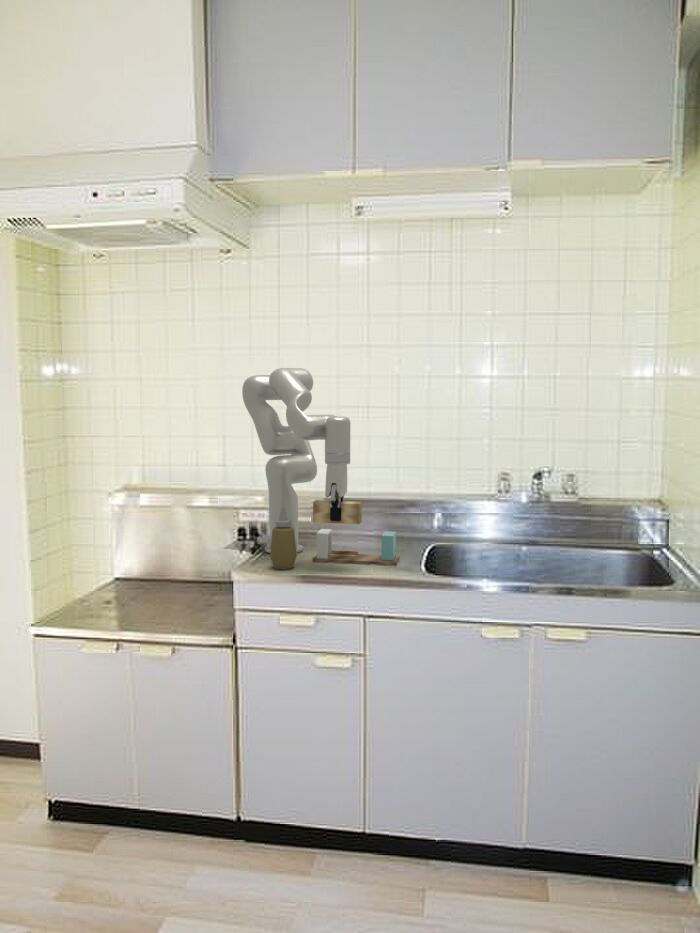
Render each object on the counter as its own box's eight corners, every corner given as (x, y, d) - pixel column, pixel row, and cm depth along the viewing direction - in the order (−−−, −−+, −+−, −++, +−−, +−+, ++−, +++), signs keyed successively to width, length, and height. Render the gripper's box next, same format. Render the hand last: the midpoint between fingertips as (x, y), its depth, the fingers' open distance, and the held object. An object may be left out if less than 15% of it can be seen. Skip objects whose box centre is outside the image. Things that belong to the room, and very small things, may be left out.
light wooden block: (313, 522, 221) (313, 502, 220) (316, 519, 225) (316, 500, 224) (359, 524, 218) (359, 504, 217) (361, 521, 222) (361, 501, 221)
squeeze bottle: (292, 571, 219) (292, 511, 217) (266, 570, 220) (265, 510, 218) (300, 565, 227) (299, 506, 225) (274, 563, 228) (274, 506, 226)
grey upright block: (316, 558, 231) (316, 533, 230) (321, 553, 238) (321, 528, 237) (327, 558, 231) (327, 533, 230) (332, 553, 237) (332, 529, 237)
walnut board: (312, 561, 231) (312, 554, 230) (319, 555, 239) (319, 548, 239) (395, 565, 226) (395, 558, 226) (399, 558, 235) (399, 551, 234)
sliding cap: (381, 560, 227) (381, 535, 227) (384, 554, 234) (384, 531, 233) (393, 560, 227) (393, 536, 226) (395, 555, 234) (395, 531, 233)
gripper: (331, 455, 228) (331, 513, 230) (318, 461, 212) (318, 524, 214) (355, 455, 226) (354, 514, 229) (344, 462, 210) (344, 525, 212)
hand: (337, 518), depth 221 cm, fingers closed on light wooden block, 4 cm apart
